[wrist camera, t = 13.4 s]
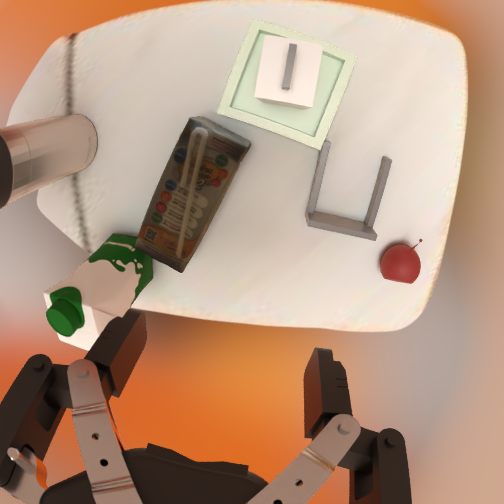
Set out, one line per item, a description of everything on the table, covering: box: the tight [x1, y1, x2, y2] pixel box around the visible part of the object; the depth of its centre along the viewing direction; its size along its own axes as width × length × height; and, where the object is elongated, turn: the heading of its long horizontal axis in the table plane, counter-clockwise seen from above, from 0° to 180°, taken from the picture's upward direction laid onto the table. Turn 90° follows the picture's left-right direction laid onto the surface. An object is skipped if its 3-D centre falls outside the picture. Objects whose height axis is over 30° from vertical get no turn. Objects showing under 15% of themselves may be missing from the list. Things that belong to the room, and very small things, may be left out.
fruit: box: [381, 239, 422, 284], centre depth 37 cm, size 6×6×8 cm
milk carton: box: [43, 234, 153, 351], centre depth 36 cm, size 9×9×20 cm
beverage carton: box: [135, 116, 251, 273], centre depth 36 cm, size 8×19×7 cm, turn 151°
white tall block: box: [254, 35, 323, 110], centre depth 25 cm, size 5×6×13 cm
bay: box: [305, 140, 392, 241], centre depth 35 cm, size 9×10×4 cm
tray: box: [217, 19, 358, 150], centre depth 30 cm, size 13×13×2 cm
